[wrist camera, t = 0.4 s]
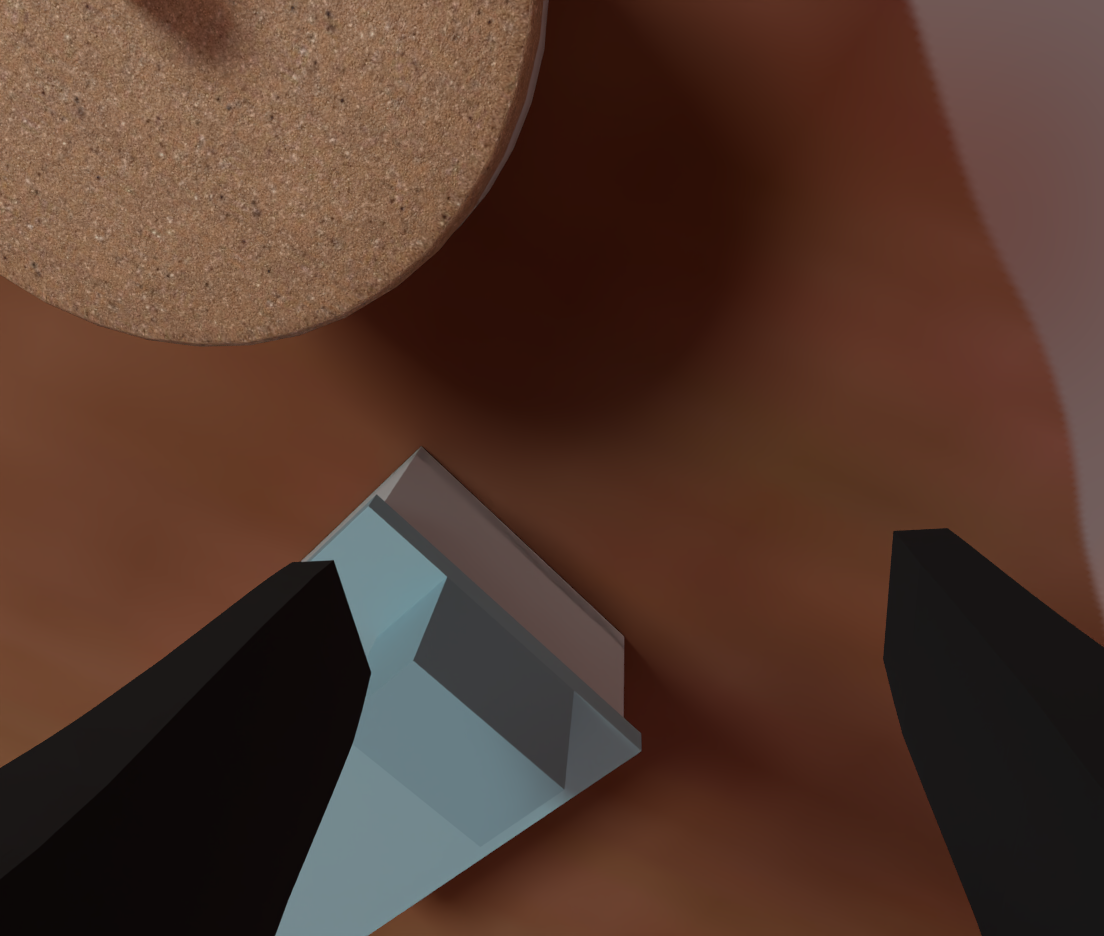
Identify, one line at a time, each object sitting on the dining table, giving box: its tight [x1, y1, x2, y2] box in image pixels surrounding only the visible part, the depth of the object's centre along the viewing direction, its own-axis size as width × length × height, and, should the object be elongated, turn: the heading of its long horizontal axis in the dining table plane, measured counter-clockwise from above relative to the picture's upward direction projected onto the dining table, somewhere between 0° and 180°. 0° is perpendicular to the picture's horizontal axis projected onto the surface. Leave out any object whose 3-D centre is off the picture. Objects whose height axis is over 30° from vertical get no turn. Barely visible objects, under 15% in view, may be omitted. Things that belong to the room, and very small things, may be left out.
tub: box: [301, 446, 624, 718], centre depth 22 cm, size 12×8×4 cm, turn 135°
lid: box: [275, 494, 641, 936], centre depth 19 cm, size 13×9×4 cm
